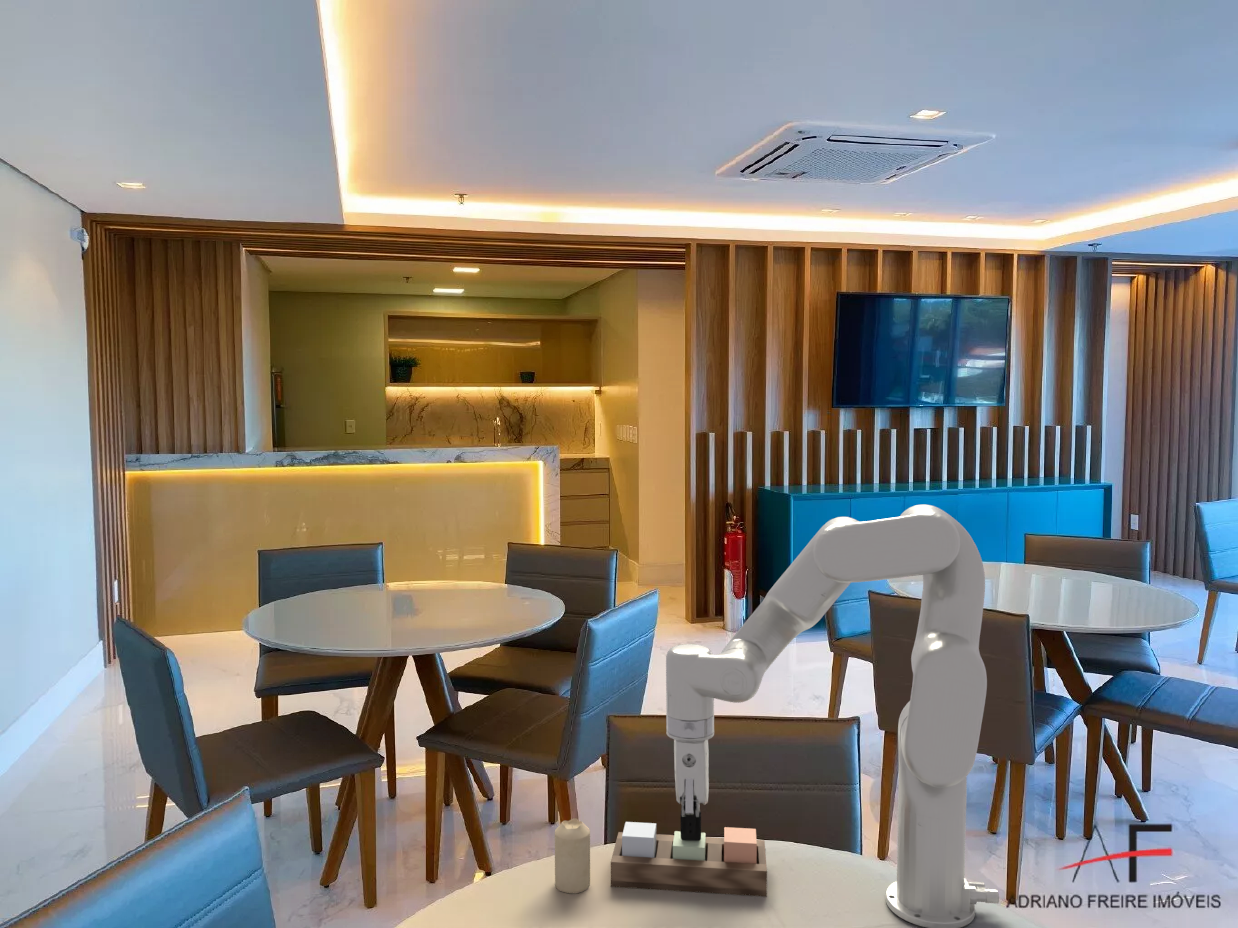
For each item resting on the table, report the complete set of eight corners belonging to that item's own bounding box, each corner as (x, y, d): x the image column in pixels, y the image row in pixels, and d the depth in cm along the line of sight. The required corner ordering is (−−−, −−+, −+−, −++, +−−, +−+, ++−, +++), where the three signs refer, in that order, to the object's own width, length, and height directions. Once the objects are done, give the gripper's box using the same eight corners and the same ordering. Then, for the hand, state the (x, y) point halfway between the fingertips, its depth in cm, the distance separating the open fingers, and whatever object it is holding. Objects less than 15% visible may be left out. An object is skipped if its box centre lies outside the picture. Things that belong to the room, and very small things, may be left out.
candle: (550, 891, 139) (549, 828, 138) (561, 873, 144) (560, 812, 144) (584, 895, 137) (584, 832, 137) (594, 877, 143) (594, 816, 142)
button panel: (764, 864, 147) (764, 840, 147) (766, 896, 137) (767, 871, 137) (618, 855, 150) (618, 832, 150) (610, 886, 140) (610, 861, 140)
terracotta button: (755, 856, 145) (755, 828, 144) (756, 871, 140) (756, 843, 139) (724, 854, 145) (724, 827, 145) (724, 869, 140) (724, 841, 140)
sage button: (705, 859, 146) (705, 832, 145) (704, 875, 141) (704, 847, 140) (674, 858, 146) (674, 831, 146) (672, 873, 141) (672, 845, 141)
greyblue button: (656, 850, 147) (656, 823, 146) (653, 865, 142) (653, 837, 141) (625, 848, 147) (625, 821, 147) (622, 863, 142) (622, 836, 142)
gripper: (713, 742, 134) (713, 862, 135) (714, 709, 149) (715, 818, 150) (663, 740, 135) (664, 859, 136) (669, 708, 150) (670, 816, 151)
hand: (691, 837), depth 143 cm, fingers closed
